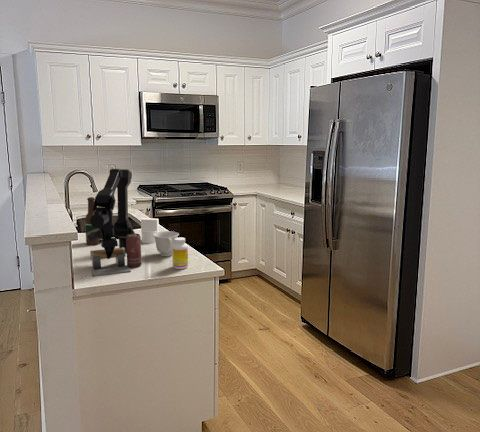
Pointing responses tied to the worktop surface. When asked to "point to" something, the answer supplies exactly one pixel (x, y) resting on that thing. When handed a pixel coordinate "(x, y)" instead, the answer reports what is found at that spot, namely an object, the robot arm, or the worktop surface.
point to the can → (133, 250)
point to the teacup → (165, 242)
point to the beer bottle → (87, 221)
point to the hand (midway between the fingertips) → (108, 257)
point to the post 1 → (96, 263)
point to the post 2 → (120, 260)
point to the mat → (110, 271)
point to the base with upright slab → (149, 229)
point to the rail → (103, 253)
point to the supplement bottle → (180, 253)
